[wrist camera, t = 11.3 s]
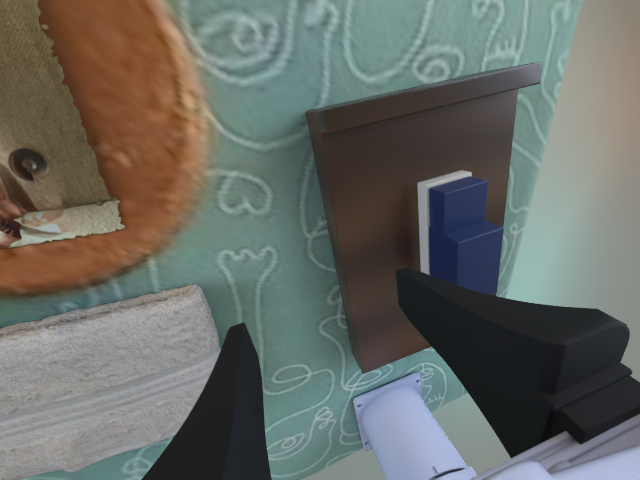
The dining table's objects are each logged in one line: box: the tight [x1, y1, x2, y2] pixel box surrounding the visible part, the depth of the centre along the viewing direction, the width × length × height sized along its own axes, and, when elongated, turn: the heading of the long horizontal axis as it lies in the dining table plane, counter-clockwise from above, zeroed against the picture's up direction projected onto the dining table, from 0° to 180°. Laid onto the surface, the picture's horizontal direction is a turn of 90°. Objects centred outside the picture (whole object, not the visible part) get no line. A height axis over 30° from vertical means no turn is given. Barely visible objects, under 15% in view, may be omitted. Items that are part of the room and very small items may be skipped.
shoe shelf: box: [306, 62, 542, 374], centre depth 22 cm, size 22×14×4 cm, turn 12°
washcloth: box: [0, 283, 221, 480], centre depth 20 cm, size 12×18×3 cm, turn 97°
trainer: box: [417, 170, 503, 295], centre depth 20 cm, size 8×4×4 cm, turn 12°
